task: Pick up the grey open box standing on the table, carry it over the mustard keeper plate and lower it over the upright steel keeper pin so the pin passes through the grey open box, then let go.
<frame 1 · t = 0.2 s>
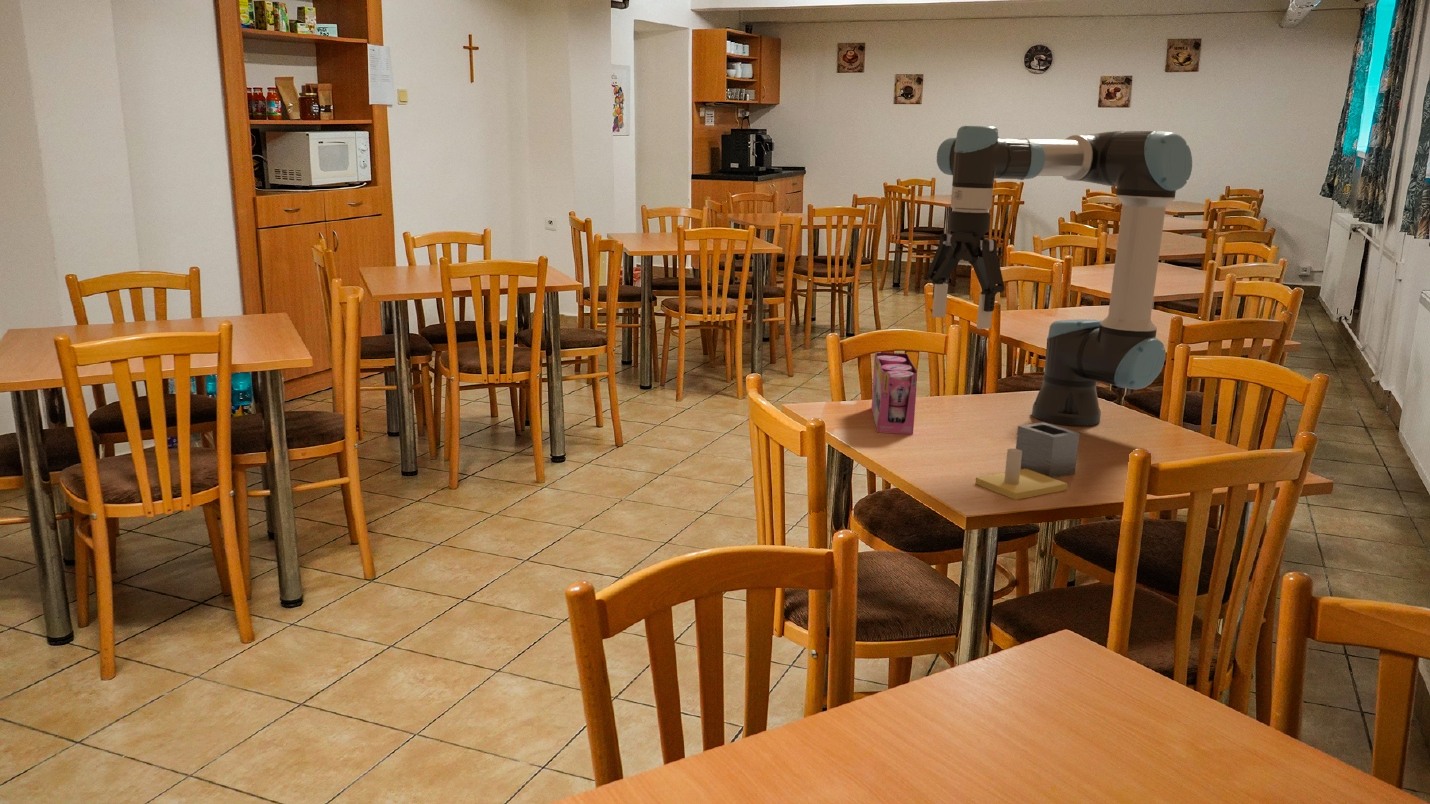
hand: (960, 322, 203), 27 cm above the table, fingers open, 13 cm apart
keeper: (1020, 486, 194), on the table
grey open box: (1044, 469, 205), on the table
gum box: (891, 421, 238), on the table
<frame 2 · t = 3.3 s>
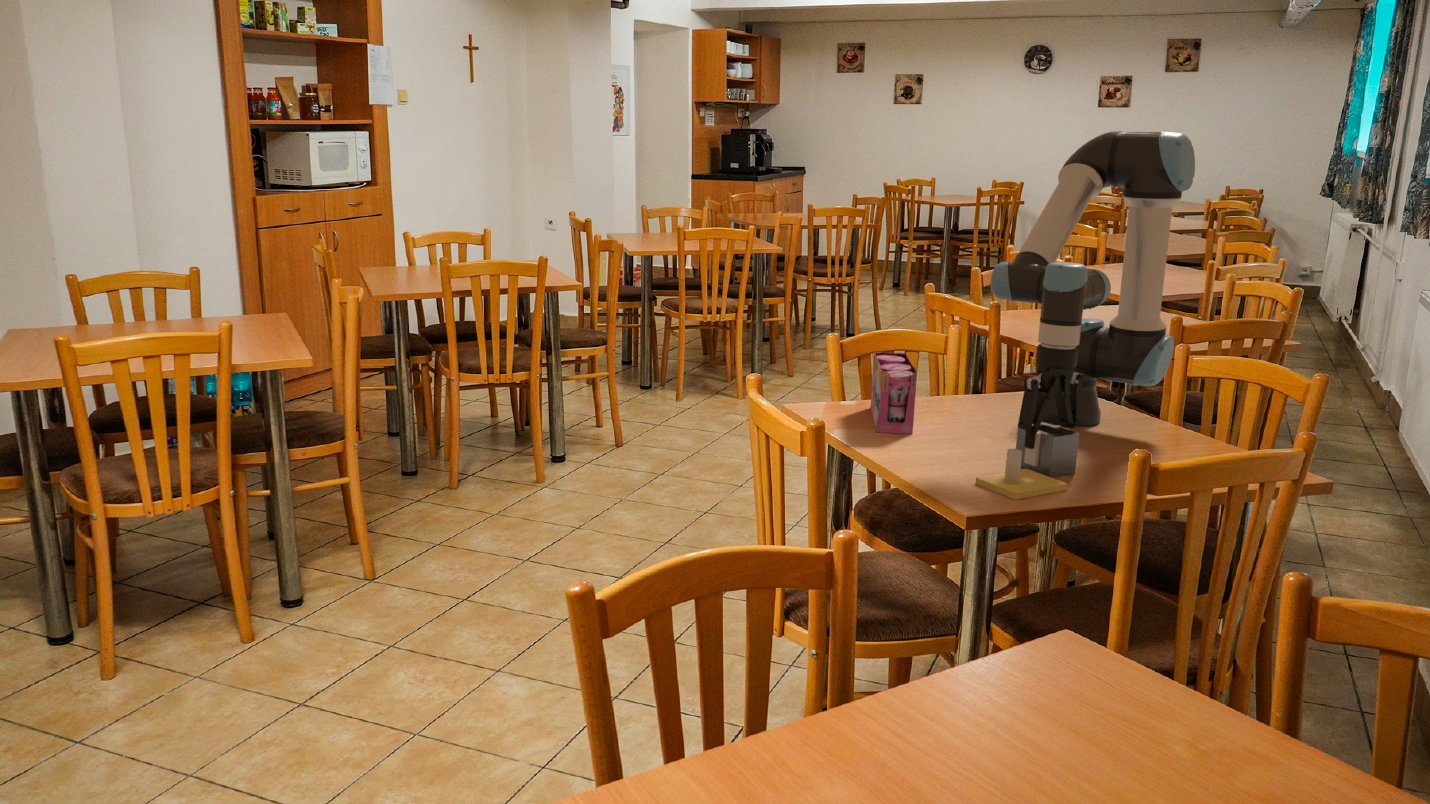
hand: (1045, 461, 205), 2 cm above the table, fingers closed on grey open box, 7 cm apart
grey open box: (1044, 469, 205), on the table, touching gripper
everything else where it was.
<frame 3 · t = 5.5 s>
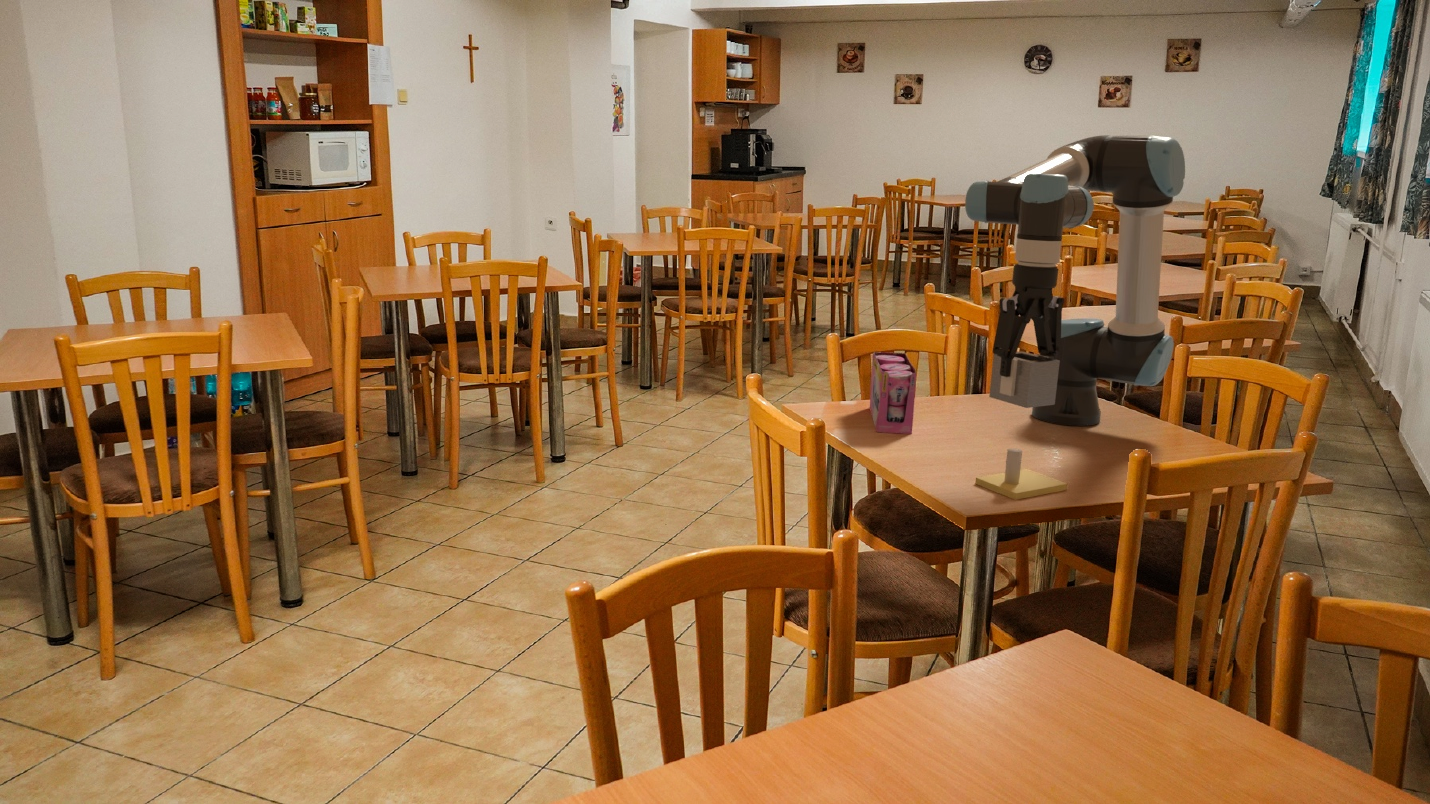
hand: (1022, 392, 189), 18 cm above the table, fingers closed on grey open box, 7 cm apart
grey open box: (1021, 400, 190), point 16 cm above the table, touching gripper
everything else where it was.
when the fingers open (5 cm above the table, at t = 7.9 s): grey open box drops 2 cm, resting on keeper.
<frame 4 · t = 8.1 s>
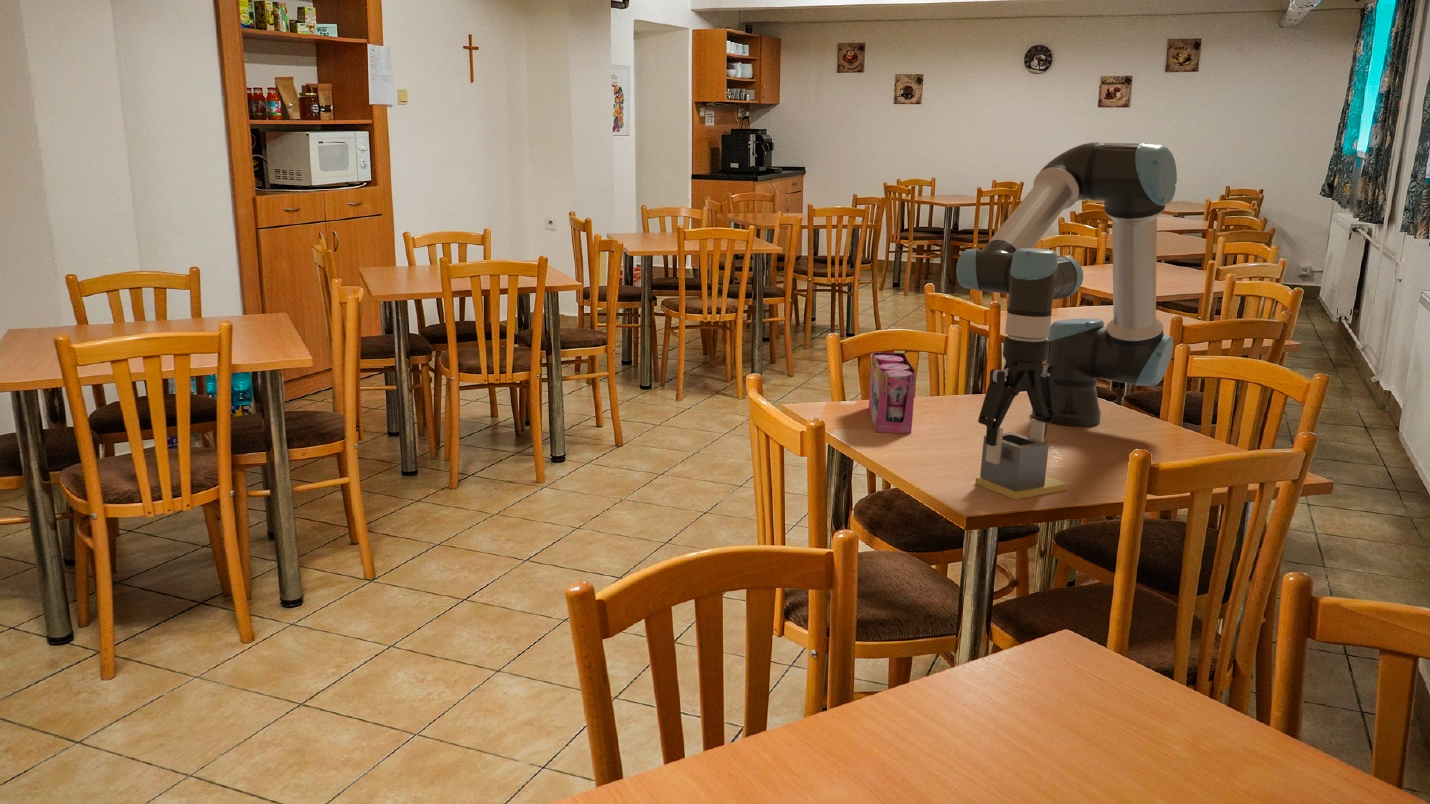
hand: (1014, 458, 191), 6 cm above the table, fingers open, 10 cm apart
grey open box: (1011, 482, 192), point 1 cm above the table, touching keeper
everything else where it was.
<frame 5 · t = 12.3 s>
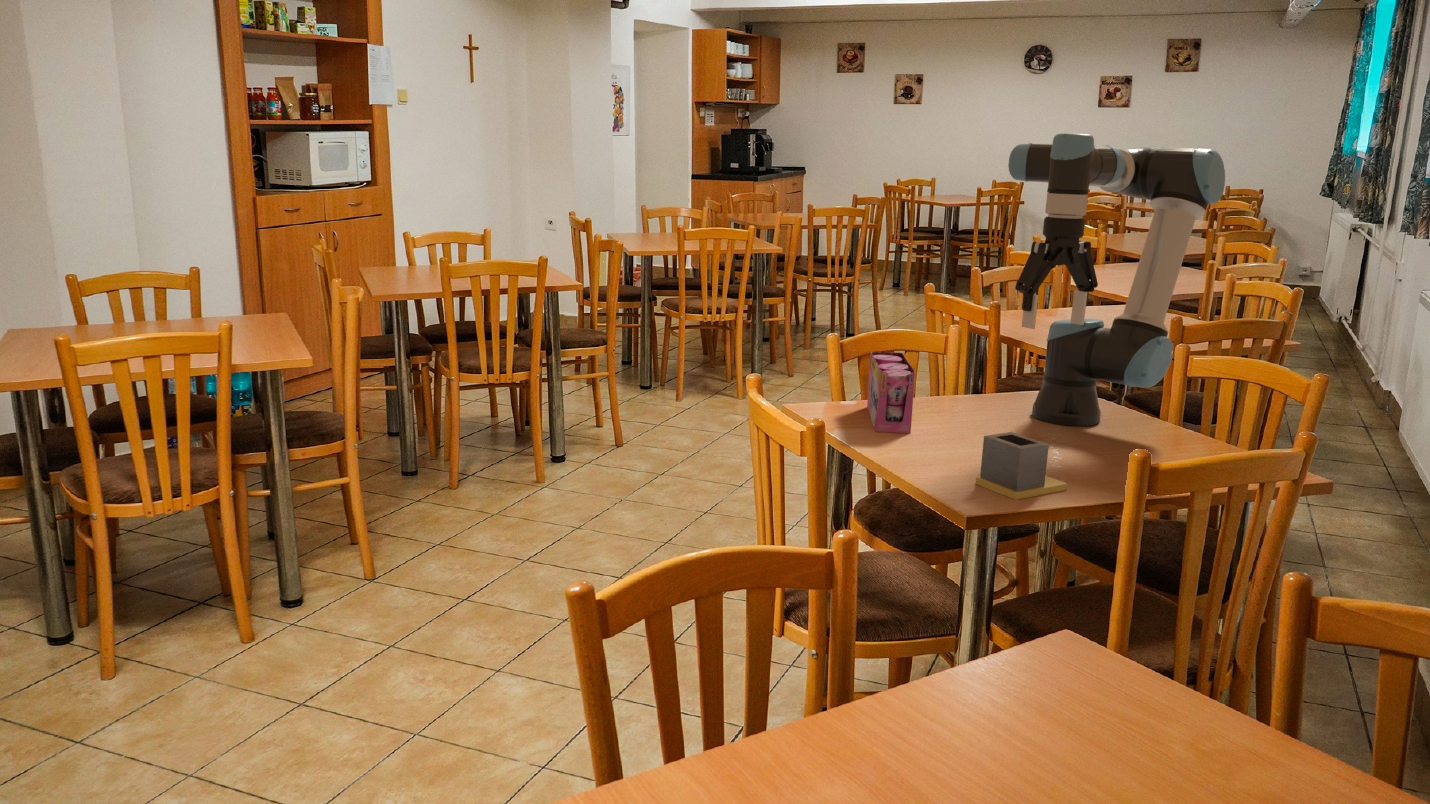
hand: (1053, 325, 208), 27 cm above the table, fingers open, 13 cm apart
nothing on the table moved.
at the end: grey open box 0.1 cm from the target spot on the keeper, point 1.2 cm above the keeper's base; the gripper is holding nothing; grey open box tilted 0° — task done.
